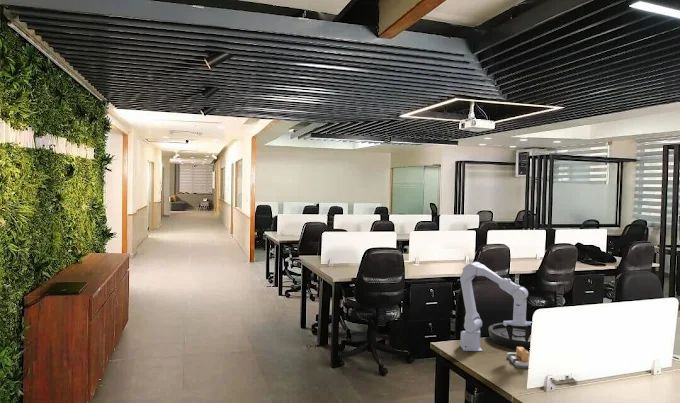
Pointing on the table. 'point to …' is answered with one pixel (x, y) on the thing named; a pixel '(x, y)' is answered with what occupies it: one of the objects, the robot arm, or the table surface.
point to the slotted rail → (517, 360)
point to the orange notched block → (522, 353)
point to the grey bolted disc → (501, 336)
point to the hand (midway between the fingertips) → (518, 340)
